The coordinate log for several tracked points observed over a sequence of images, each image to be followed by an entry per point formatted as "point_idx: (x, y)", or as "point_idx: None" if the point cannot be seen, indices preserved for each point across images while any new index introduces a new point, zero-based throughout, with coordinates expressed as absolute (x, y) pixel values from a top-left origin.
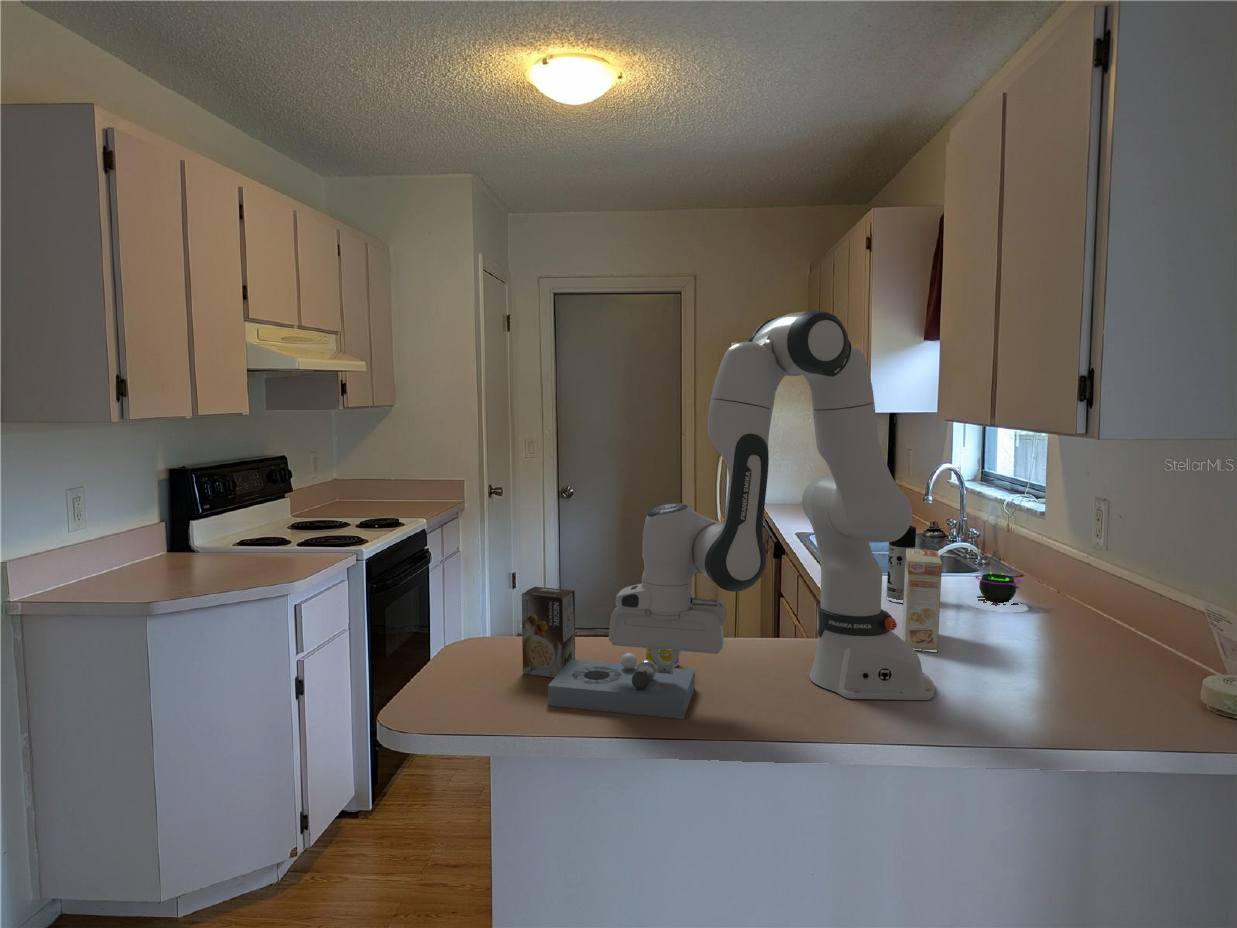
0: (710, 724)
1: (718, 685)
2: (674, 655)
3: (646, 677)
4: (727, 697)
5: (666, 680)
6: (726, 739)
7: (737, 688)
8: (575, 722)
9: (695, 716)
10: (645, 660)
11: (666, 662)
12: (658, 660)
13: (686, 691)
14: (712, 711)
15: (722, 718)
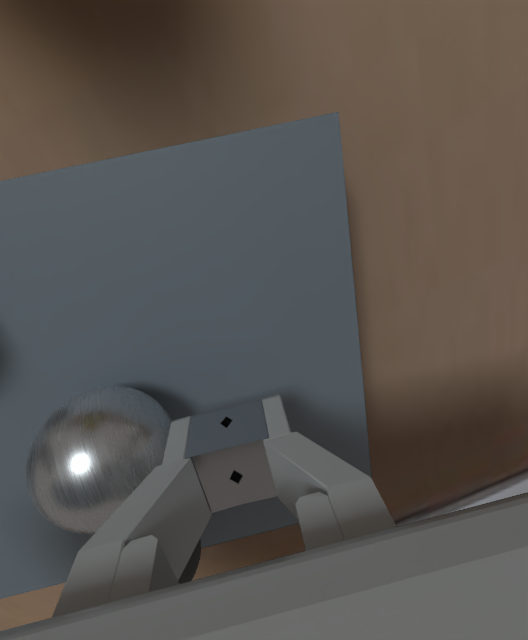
0: (429, 434)
1: (416, 13)
2: (306, 480)
3: (191, 577)
4: (472, 179)
5: (230, 374)
6: (479, 487)
7: (520, 17)
8: (51, 591)
9: (374, 407)
10: (76, 520)
11: (239, 467)
12: (195, 538)
13: (367, 445)
14: (424, 345)
15: (462, 381)
